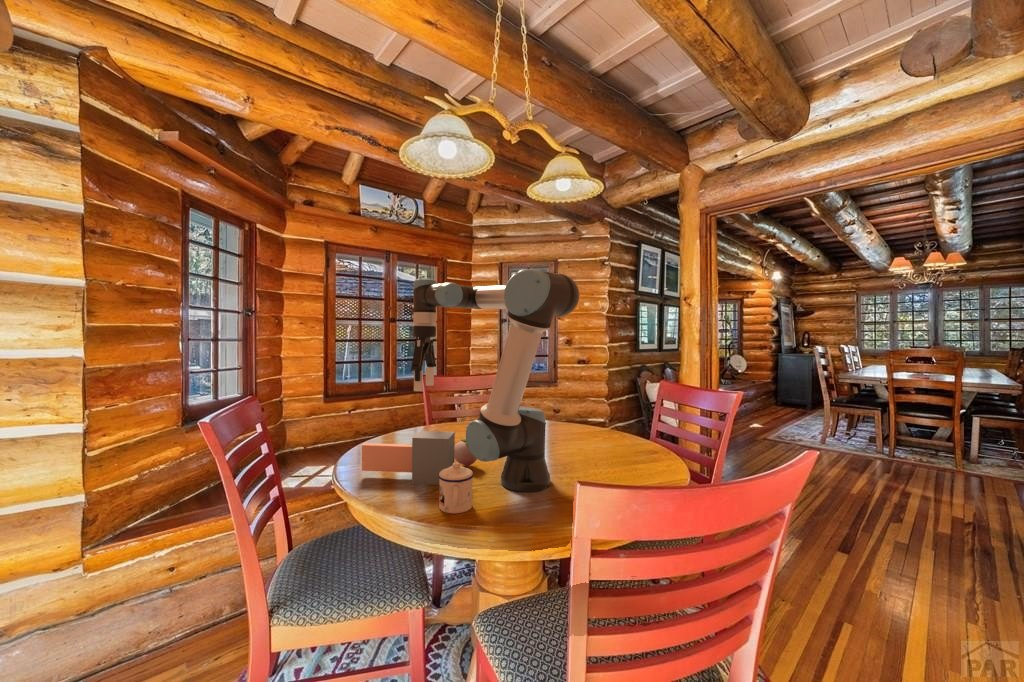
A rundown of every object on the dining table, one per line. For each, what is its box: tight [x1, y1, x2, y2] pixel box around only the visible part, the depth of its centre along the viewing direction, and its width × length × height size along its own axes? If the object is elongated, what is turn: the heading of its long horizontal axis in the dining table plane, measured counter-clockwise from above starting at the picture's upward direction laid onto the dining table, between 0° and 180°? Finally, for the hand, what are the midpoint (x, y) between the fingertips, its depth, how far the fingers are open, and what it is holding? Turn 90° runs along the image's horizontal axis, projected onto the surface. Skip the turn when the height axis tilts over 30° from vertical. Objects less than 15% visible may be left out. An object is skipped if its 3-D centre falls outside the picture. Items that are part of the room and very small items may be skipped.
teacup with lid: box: [438, 461, 474, 514], centre depth 108 cm, size 12×9×12 cm
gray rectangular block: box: [411, 430, 456, 486], centre depth 129 cm, size 11×9×14 cm
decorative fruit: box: [454, 438, 478, 468], centre depth 141 cm, size 9×8×10 cm
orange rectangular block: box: [361, 442, 412, 474], centre depth 130 cm, size 16×2×8 cm, turn 86°
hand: (424, 388), depth 140 cm, fingers open, 13 cm apart
